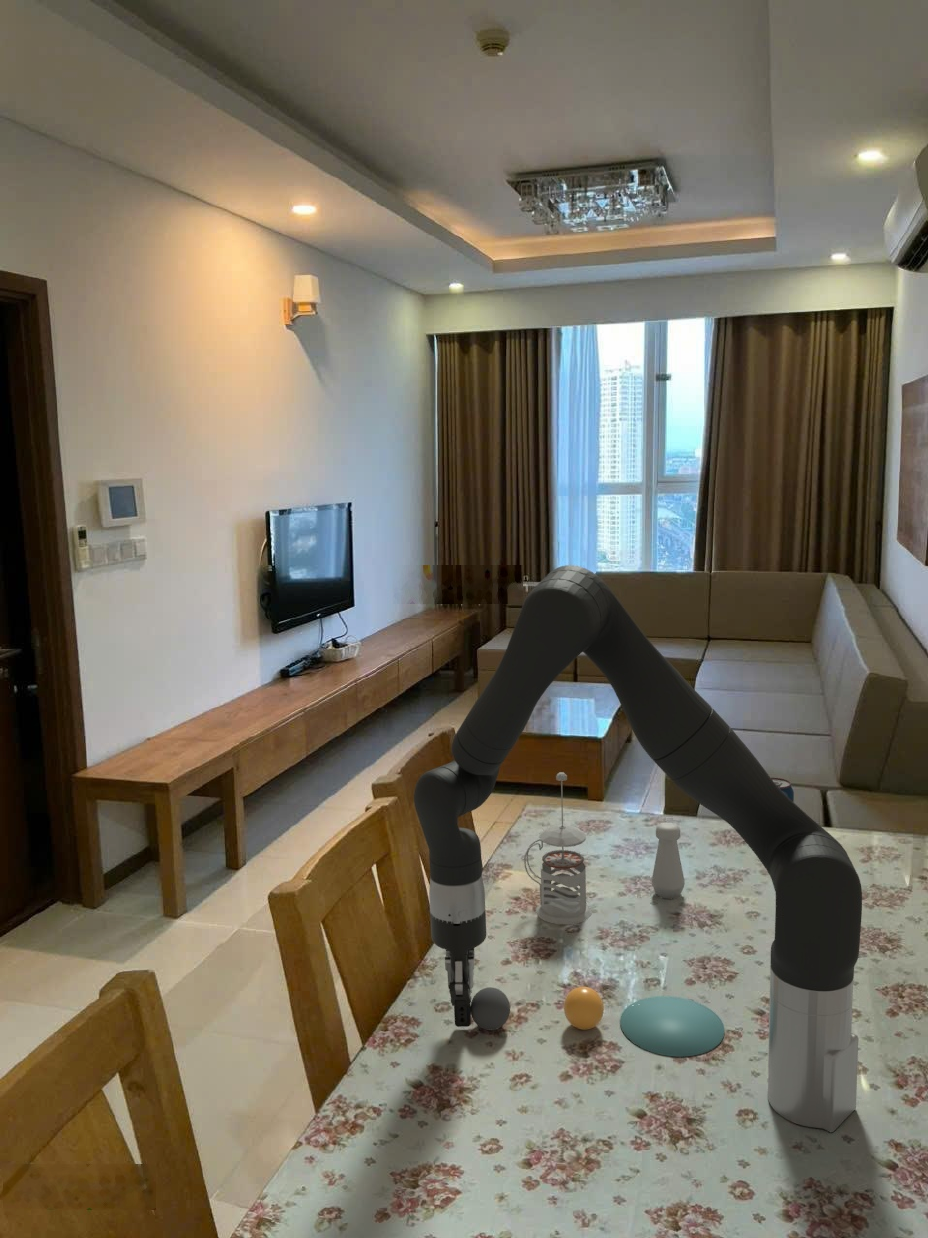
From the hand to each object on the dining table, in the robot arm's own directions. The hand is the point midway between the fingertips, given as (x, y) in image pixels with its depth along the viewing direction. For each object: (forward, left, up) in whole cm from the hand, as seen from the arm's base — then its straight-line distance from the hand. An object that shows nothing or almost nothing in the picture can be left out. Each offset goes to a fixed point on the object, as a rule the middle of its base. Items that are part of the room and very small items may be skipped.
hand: (463, 1023), depth 133 cm
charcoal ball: (-2, -3, +2) cm, 4 cm away
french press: (+14, -36, -1) cm, 38 cm away
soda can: (+3, -89, -1) cm, 89 cm away
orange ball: (-11, -12, +2) cm, 17 cm away
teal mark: (-20, -21, -1) cm, 29 cm away
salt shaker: (+4, -54, -1) cm, 54 cm away
